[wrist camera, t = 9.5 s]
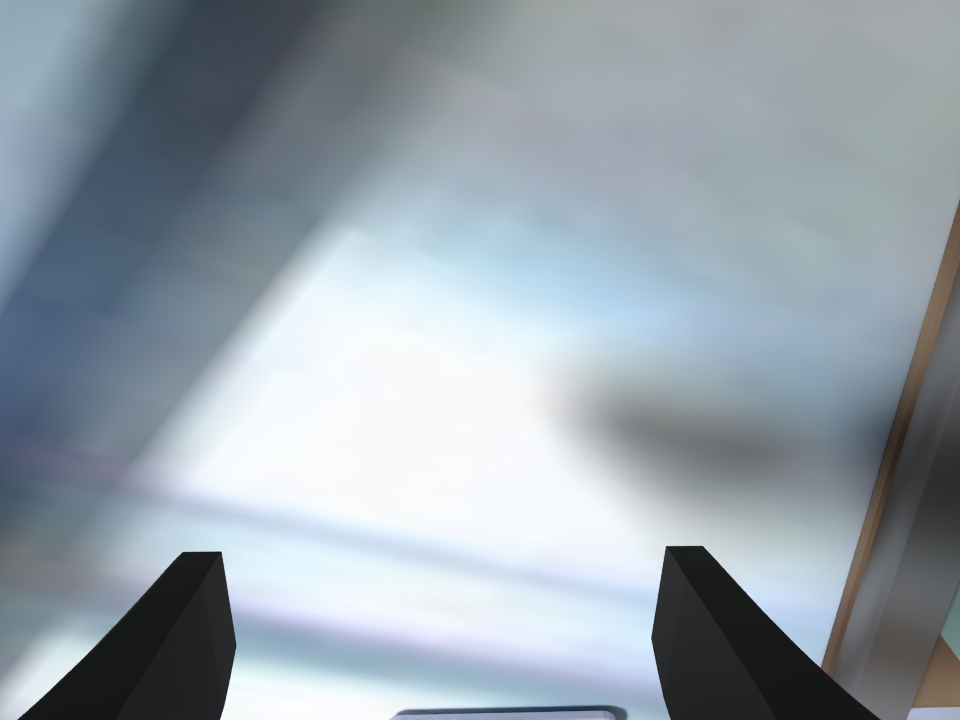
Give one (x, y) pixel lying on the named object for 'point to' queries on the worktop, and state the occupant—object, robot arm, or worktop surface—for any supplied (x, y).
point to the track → (910, 533)
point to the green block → (953, 624)
